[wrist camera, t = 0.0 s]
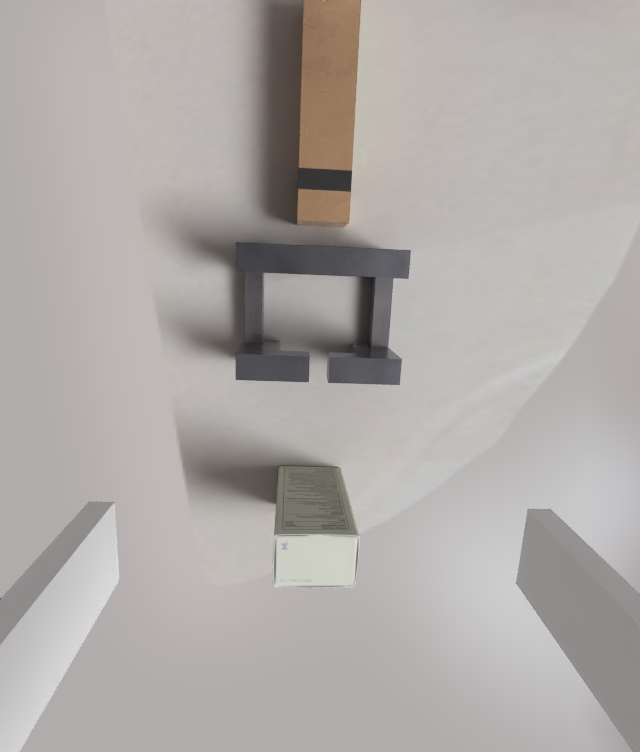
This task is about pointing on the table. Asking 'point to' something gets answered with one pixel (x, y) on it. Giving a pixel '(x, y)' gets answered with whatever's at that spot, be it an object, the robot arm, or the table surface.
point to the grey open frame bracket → (381, 264)
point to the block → (327, 111)
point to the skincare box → (314, 530)
